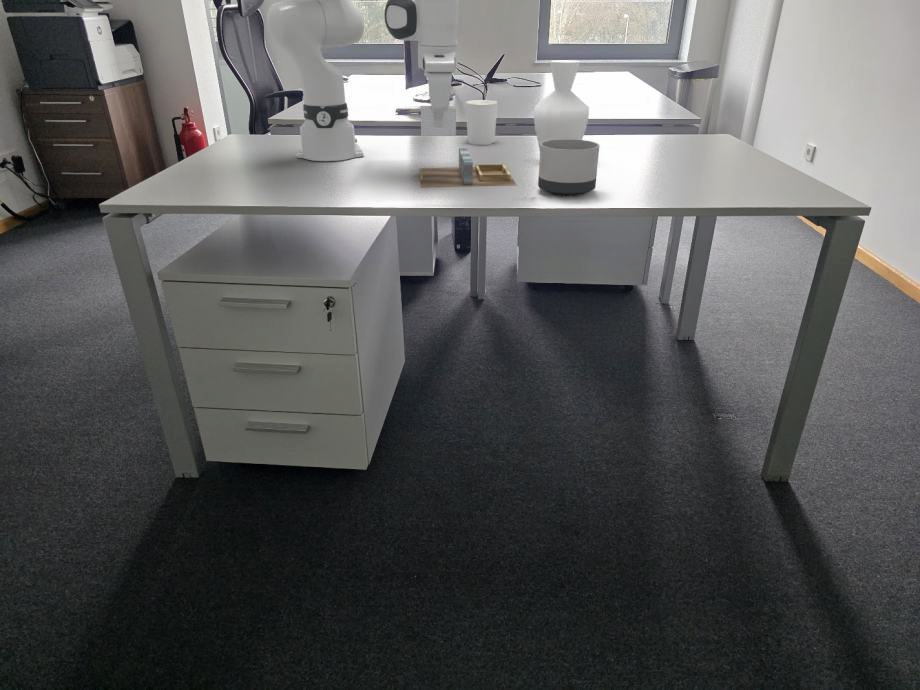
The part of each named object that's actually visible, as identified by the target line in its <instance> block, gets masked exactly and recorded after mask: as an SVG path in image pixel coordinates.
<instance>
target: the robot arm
mask: <svg viewBox="0 0 920 690" xmlns="http://www.w3.org/2000/svg"><path fill="white" fill-rule="evenodd" d="M459 6H460V5H459V0H387V1H386V4H385V6H384V8H385V9H384V22H385V23H384V24H385V26H386V29H387V31H388V33H389V34H390V35H391V36H392V38H394V39H396V40H398V41H402V42H403V41H404V42H405V41H406V42H407V41H409V42H410V41H416V42H418V43H417V62H418V63H417V64H418V65H417V67H418V68H419V69H422V70H423V72H424V73H423V76H424V77H426V78H427V81H428V82H427V83H428V97H429V101H430V106H431V107H432V110H434V115H435V127H436V128H442V127H443V114H444V110H448V107H449V106H450V99H451V92H452V91H451V89H452V81H453V73H455V71H456V69H458V68H459V41H458V36H457V31H458V26H459V20H460V19H459V15H460V14H459V11H460V10H459V9H460V8H459ZM266 28H267V31H268V33H269V35H270V37H271V39H272V41H273V42H274V43H276V45H278V46H279V47H280V48H282V49H283V50H284V51H285V52H286V53H287V54H288V55H289V57H290V58H291V59H292V61H293V62H294V64H295V66H296V68H297V71H298V74H299V78H300V82H301V88H302V95H303V105H302V112H303V118H304V122H303V123H301V125H300V126H299V131H300V143H301V151H299V152H296V158H298V159H305V160H309V161H313V162H314V161H315V162H336V161H337V162H338V161H344V160H349V159H354V158H359V157H364V155H365V154H364V151H363V150H362V148H361V147H360V146H359V144H358V140H357V137H356V136H355V134H356V133H355V127H354V125H353V123H352V122H351V121H350V120H349V118H348V117H349V109H348V104H347V102H346V96H345V85H344V82H345V81H344V75H343V73H342V72H341V70H340V69H339V68H338V66H336V65H334V64H333V63H331V62H330V61H327V60H325V58H324V56H323V54H322V50H321V48H336V47H337V48H338V47H339V48H342V47H346V46H350V45H353V44H357V43H359V42H360V40H361V39H362V37H363V35H364V32H365V19H364V16H363V13H362V10H361V9H360V7H359V6H358V5H357V4H356V3H355V2H354V1H352V0H282V1H278V2H274V3H272V4H271V5H270V7H269V8H268V11H267V14H266Z"/></svg>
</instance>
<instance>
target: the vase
mask: <svg viewBox="0 0 920 690" xmlns="http://www.w3.org/2000/svg"><path fill="white" fill-rule="evenodd" d="M580 63H581V61H580V60H566V59H564V60H560V59H559V60H558V59H557V60H550V61H549V64H550V70H551V75H552V79H553V86H554V91H552V92H551V93H549V95H547V96H546V97H545V98H543V99H542V100H541V101H540V102H539V103H537V104H536V105H535V106H534V113H533V114H534V115H533V122H534V129H535V135H536V138H537V144H538V149H539V151H540V144H541V143H542V142H544V141H548V140H557V139H576V140H583V138H584V135H585V132H586V130H587V127H588V121H589V115H590V107H589V105H587V104H586V103H585V102H584V101H583V100H582V99H581V98H580V97H578V96H577V95H576V94H575V93H574V92H573V91H572V88H573V84H574V81H575V79H576V75H577V73H578V71H579V70H578V69H579V67H580Z"/></svg>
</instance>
